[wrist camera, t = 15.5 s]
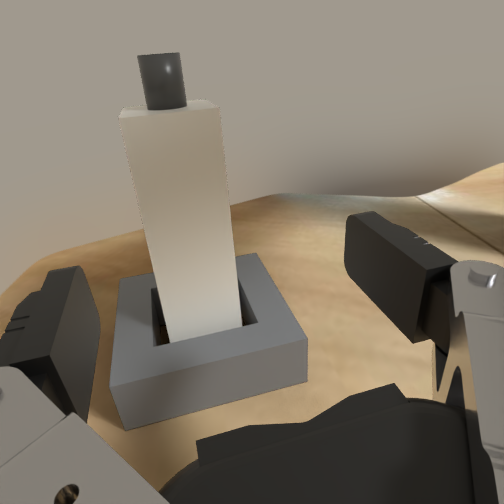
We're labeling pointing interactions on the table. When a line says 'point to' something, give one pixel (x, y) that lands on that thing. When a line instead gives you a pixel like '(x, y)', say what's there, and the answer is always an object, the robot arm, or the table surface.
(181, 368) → the socket
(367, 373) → the table surface
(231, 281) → the plug
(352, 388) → the table surface
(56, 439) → the robot arm
